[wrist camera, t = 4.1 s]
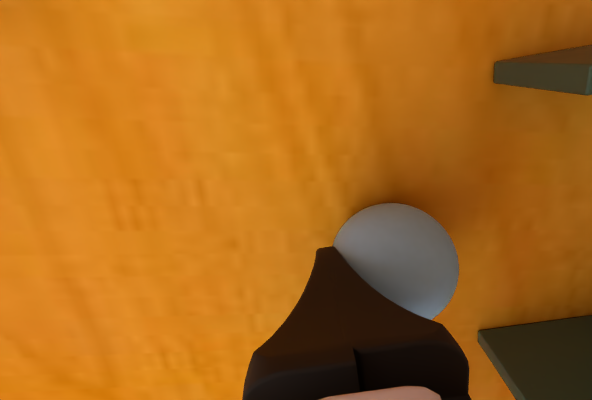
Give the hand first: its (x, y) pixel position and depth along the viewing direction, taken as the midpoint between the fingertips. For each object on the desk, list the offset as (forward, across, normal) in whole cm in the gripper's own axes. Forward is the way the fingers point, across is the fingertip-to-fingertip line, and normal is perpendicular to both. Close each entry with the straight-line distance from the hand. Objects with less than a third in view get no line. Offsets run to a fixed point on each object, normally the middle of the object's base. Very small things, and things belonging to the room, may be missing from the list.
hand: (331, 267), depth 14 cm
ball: (0, -2, 0) cm, 3 cm away
